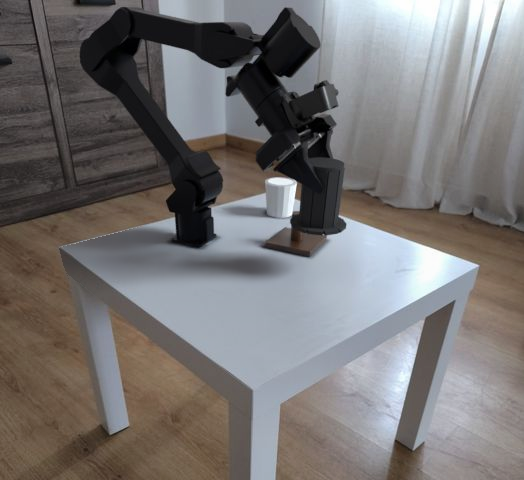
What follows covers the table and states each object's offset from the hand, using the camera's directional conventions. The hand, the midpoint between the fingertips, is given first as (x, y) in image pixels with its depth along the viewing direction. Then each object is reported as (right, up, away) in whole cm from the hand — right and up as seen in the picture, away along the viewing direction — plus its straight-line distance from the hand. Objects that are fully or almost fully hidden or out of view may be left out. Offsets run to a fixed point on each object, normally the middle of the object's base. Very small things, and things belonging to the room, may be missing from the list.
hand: (329, 186), depth 77 cm
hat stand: (-4, -5, +17) cm, 19 cm away
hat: (-1, -5, +4) cm, 7 cm away
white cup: (-7, +4, +31) cm, 32 cm away
